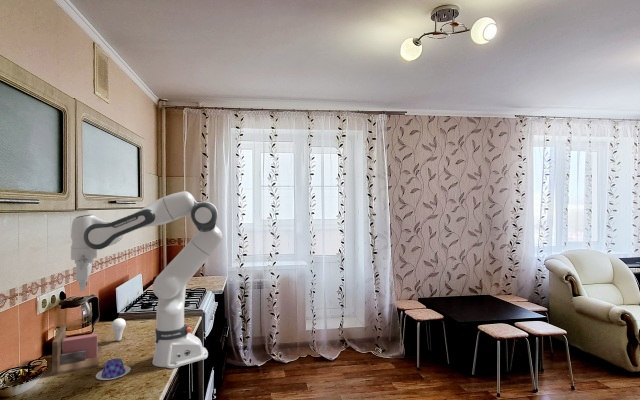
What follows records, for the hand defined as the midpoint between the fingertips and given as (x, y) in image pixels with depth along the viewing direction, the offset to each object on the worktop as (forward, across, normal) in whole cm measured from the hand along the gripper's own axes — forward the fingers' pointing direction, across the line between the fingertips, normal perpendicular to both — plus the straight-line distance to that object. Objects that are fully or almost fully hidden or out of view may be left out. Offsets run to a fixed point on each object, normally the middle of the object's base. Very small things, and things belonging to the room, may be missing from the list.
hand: (83, 288), depth 144 cm
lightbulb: (+33, +28, -12) cm, 45 cm away
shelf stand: (+33, +11, +3) cm, 35 cm away
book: (+32, +11, +2) cm, 34 cm away
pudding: (+34, -10, -11) cm, 37 cm away
